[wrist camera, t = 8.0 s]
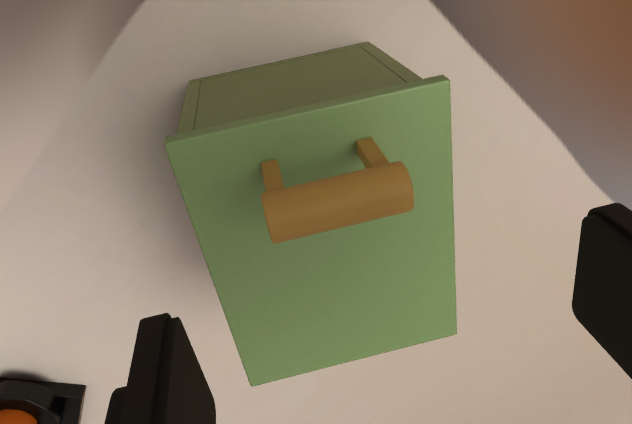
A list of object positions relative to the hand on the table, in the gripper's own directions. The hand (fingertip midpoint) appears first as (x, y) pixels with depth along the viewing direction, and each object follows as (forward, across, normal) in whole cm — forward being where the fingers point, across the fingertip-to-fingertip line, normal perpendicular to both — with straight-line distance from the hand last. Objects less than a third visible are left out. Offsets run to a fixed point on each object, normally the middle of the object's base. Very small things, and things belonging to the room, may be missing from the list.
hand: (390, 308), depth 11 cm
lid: (+11, 0, +6) cm, 13 cm away
